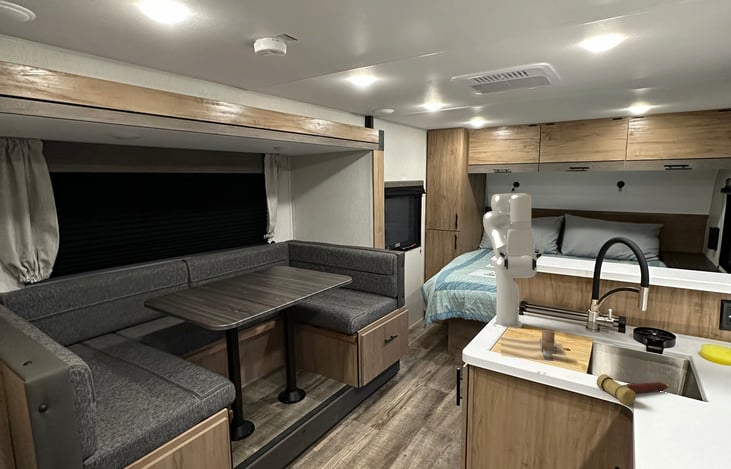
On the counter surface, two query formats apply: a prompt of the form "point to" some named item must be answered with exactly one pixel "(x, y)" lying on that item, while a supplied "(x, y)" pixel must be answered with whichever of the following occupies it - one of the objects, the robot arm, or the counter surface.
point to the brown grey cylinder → (548, 343)
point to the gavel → (627, 388)
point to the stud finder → (554, 347)
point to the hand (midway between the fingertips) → (520, 269)
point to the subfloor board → (529, 349)
